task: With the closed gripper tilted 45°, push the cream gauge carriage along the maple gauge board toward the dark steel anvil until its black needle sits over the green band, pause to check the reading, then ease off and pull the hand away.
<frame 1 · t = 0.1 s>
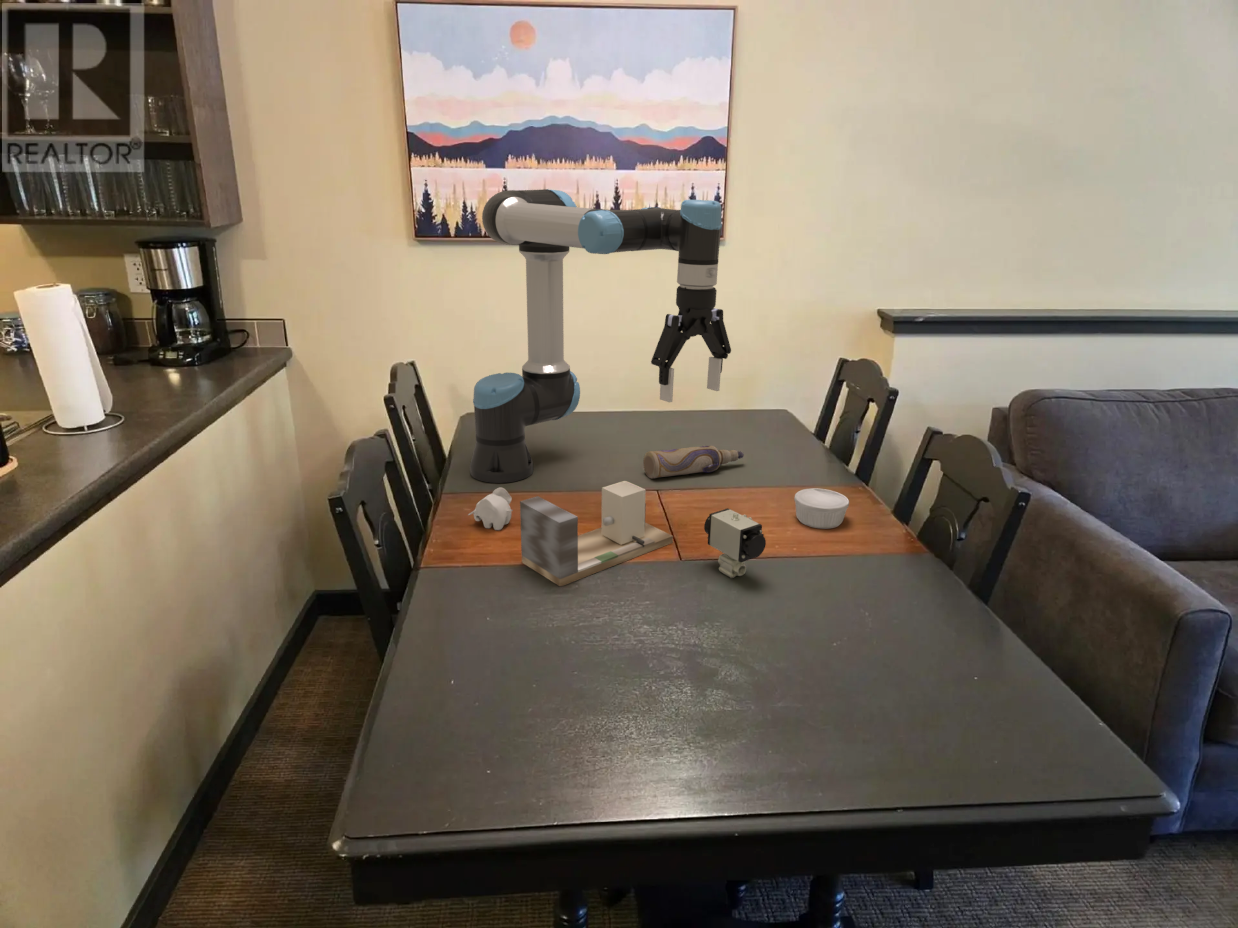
hand: (690, 395, 160), 28 cm above the table, tool pointing down, fingers open, 13 cm apart
gauge board: (599, 552, 157), on the table
pneumatic valve: (733, 573, 150), on the table
decorative bottle: (694, 474, 197), on the table
elephant figurine: (492, 525, 168), on the table
ramekin: (819, 521, 173), on the table
gauge carriage: (626, 515, 157), point 7 cm above the table, slide at 0.0 cm
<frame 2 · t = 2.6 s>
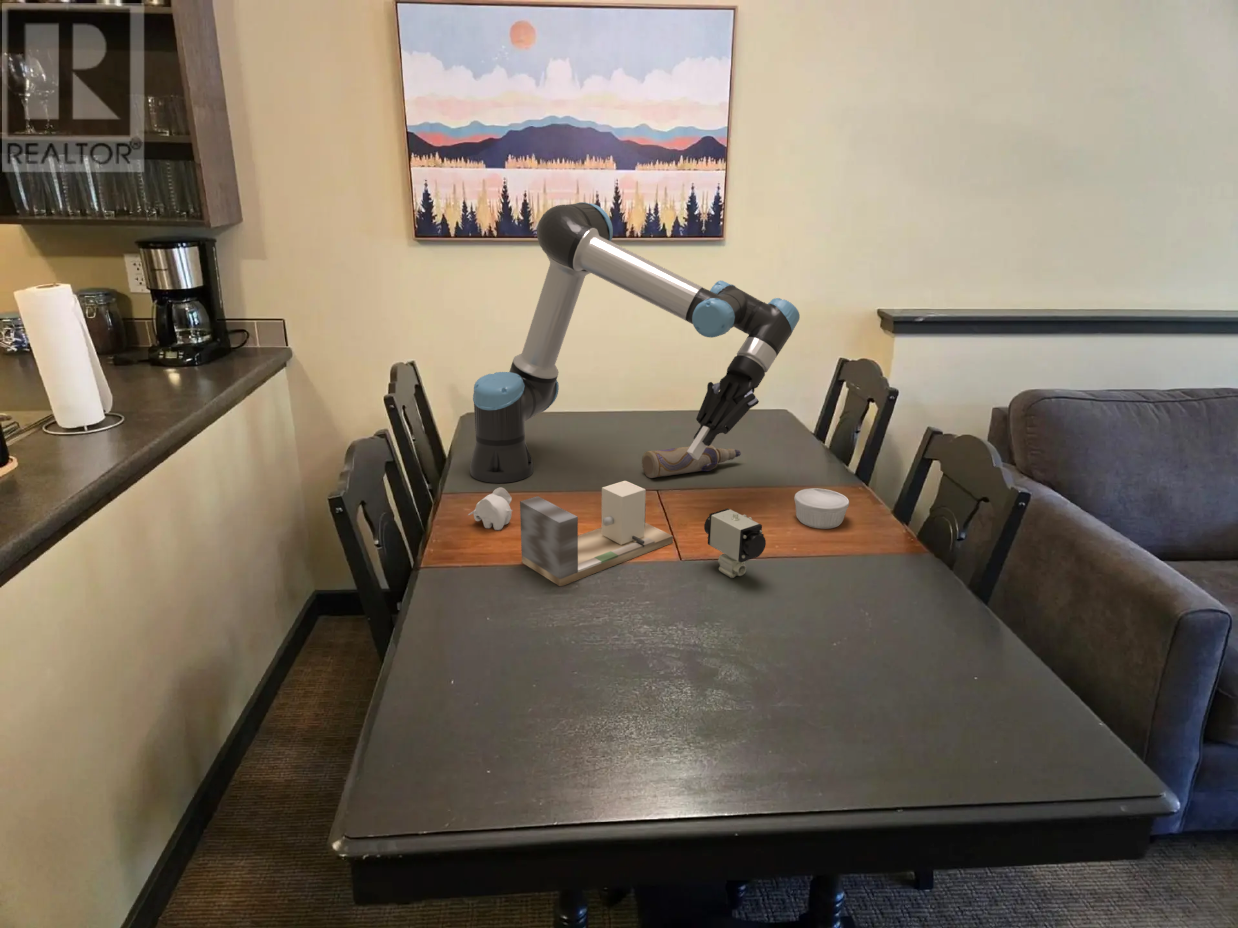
hand: (692, 455, 167), 14 cm above the table, tool tilted 45°, fingers closed
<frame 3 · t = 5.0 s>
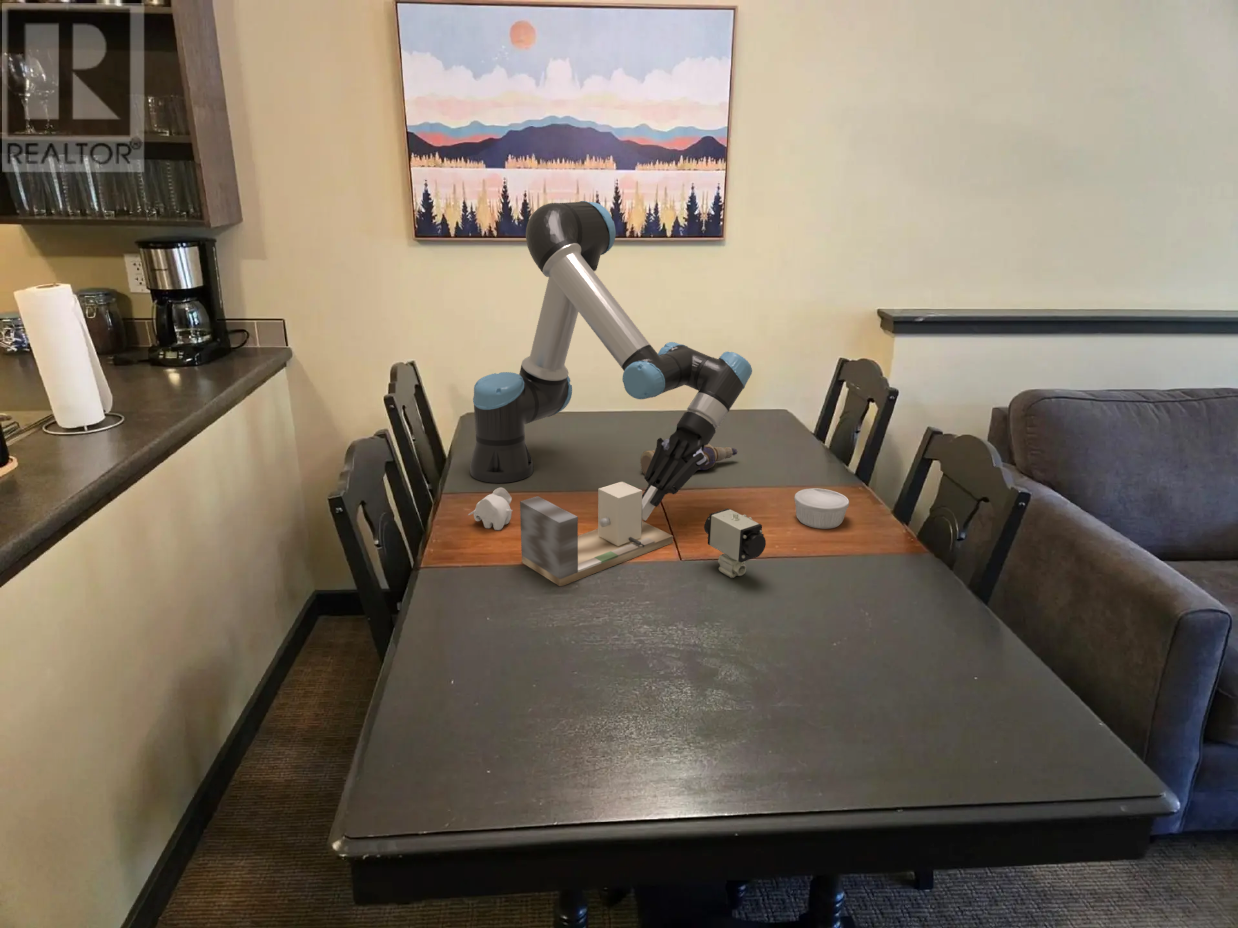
hand: (639, 516, 161), 5 cm above the table, tool tilted 45°, fingers closed
gauge carriage: (623, 516, 156), point 7 cm above the table, slide at 0.9 cm, touching gripper
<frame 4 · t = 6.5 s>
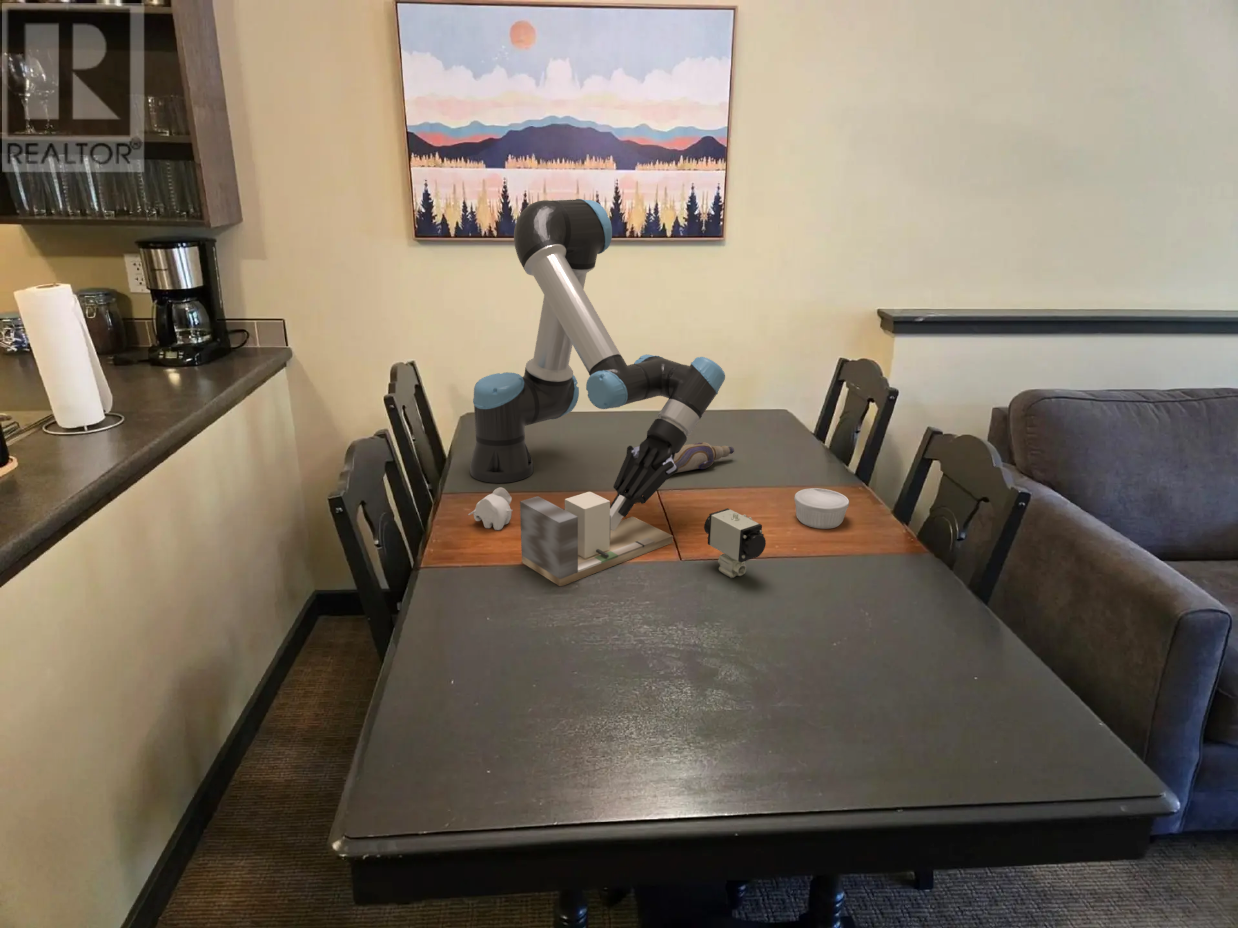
hand: (607, 526, 156), 5 cm above the table, tool tilted 45°, fingers closed
gauge carriage: (590, 527, 151), point 7 cm above the table, slide at 9.0 cm, touching gripper
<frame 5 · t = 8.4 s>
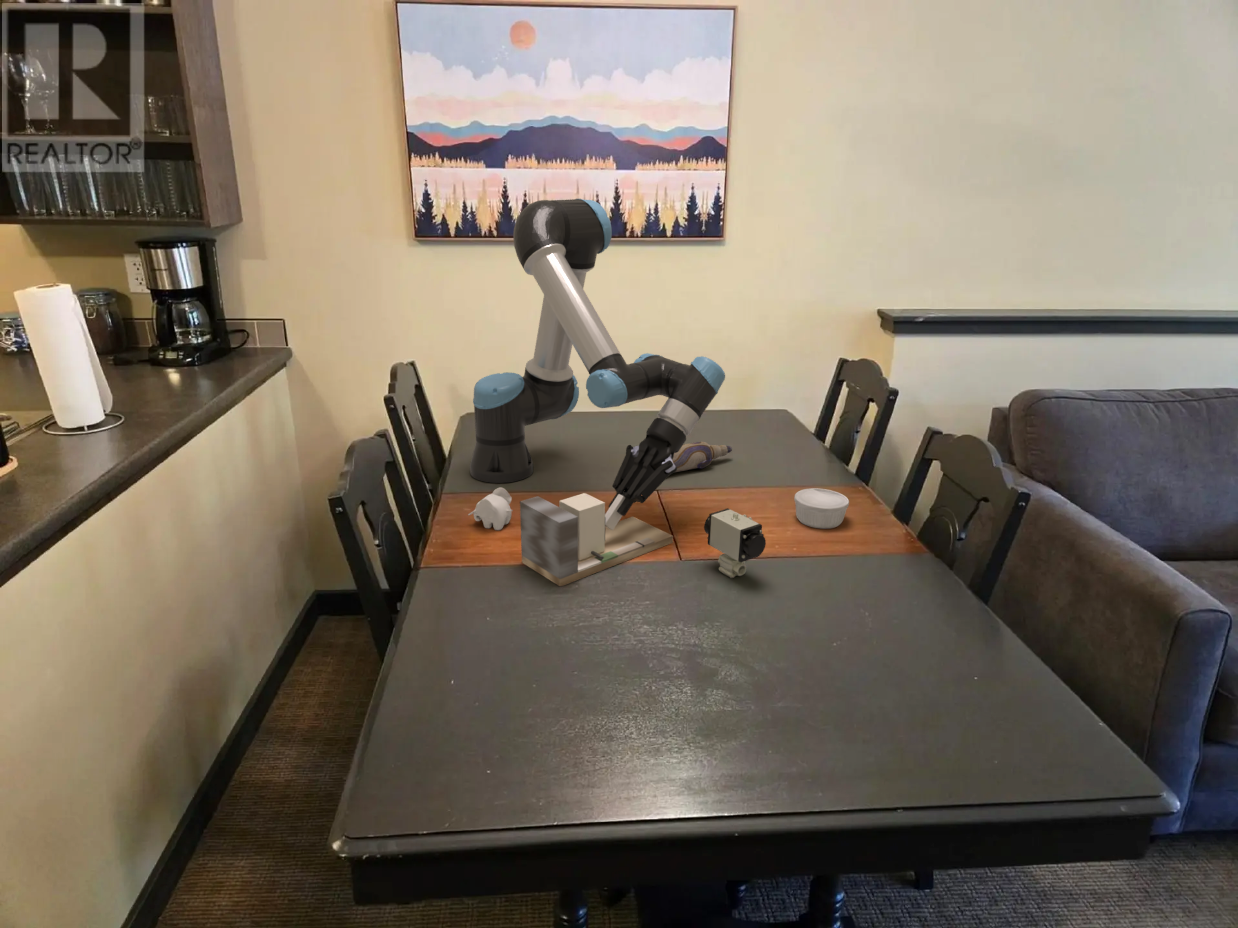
hand: (606, 526, 156), 5 cm above the table, tool tilted 45°, fingers closed
gauge carriage: (585, 529, 150), point 7 cm above the table, slide at 10.3 cm
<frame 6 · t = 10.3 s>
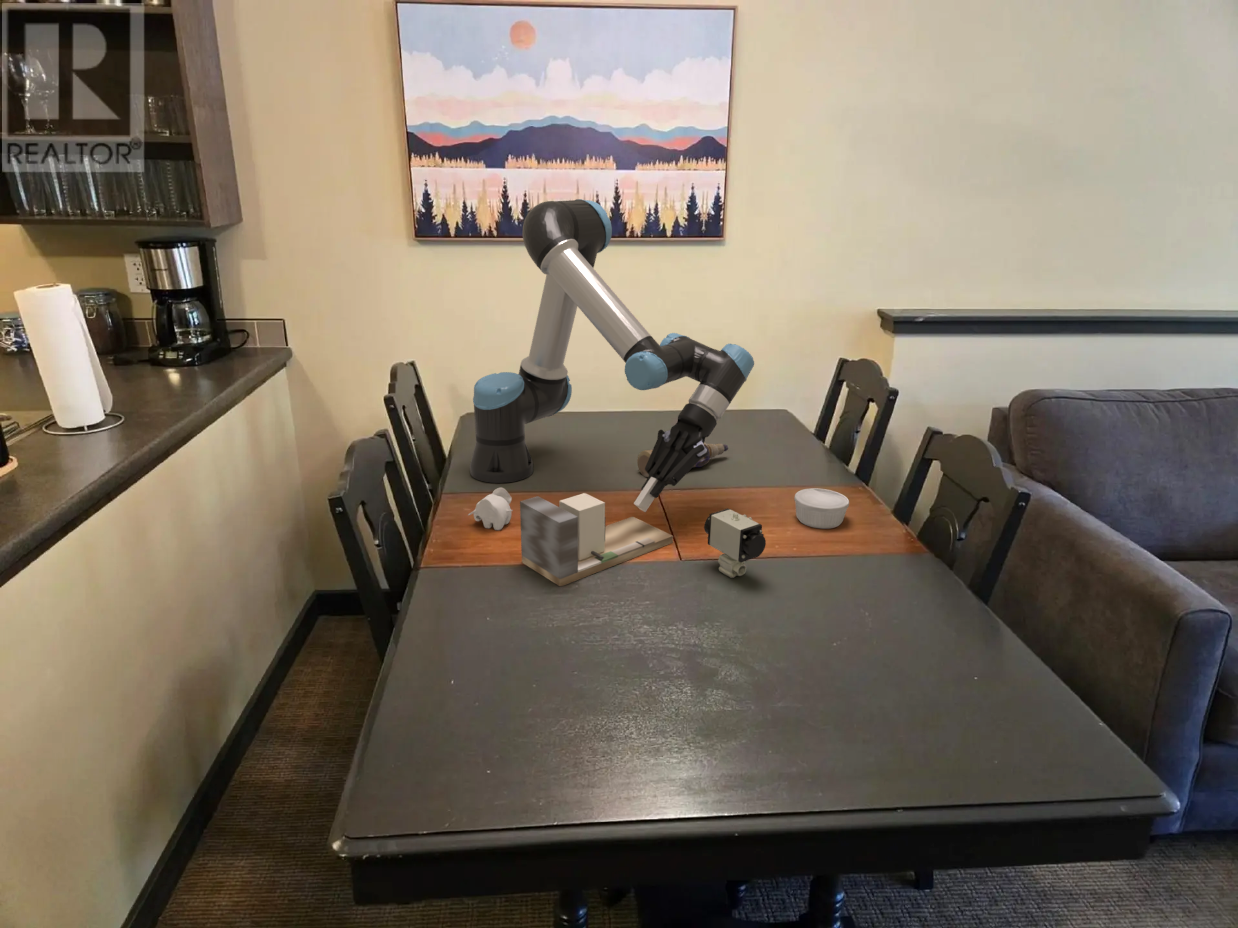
hand: (639, 507, 161), 7 cm above the table, tool tilted 45°, fingers closed
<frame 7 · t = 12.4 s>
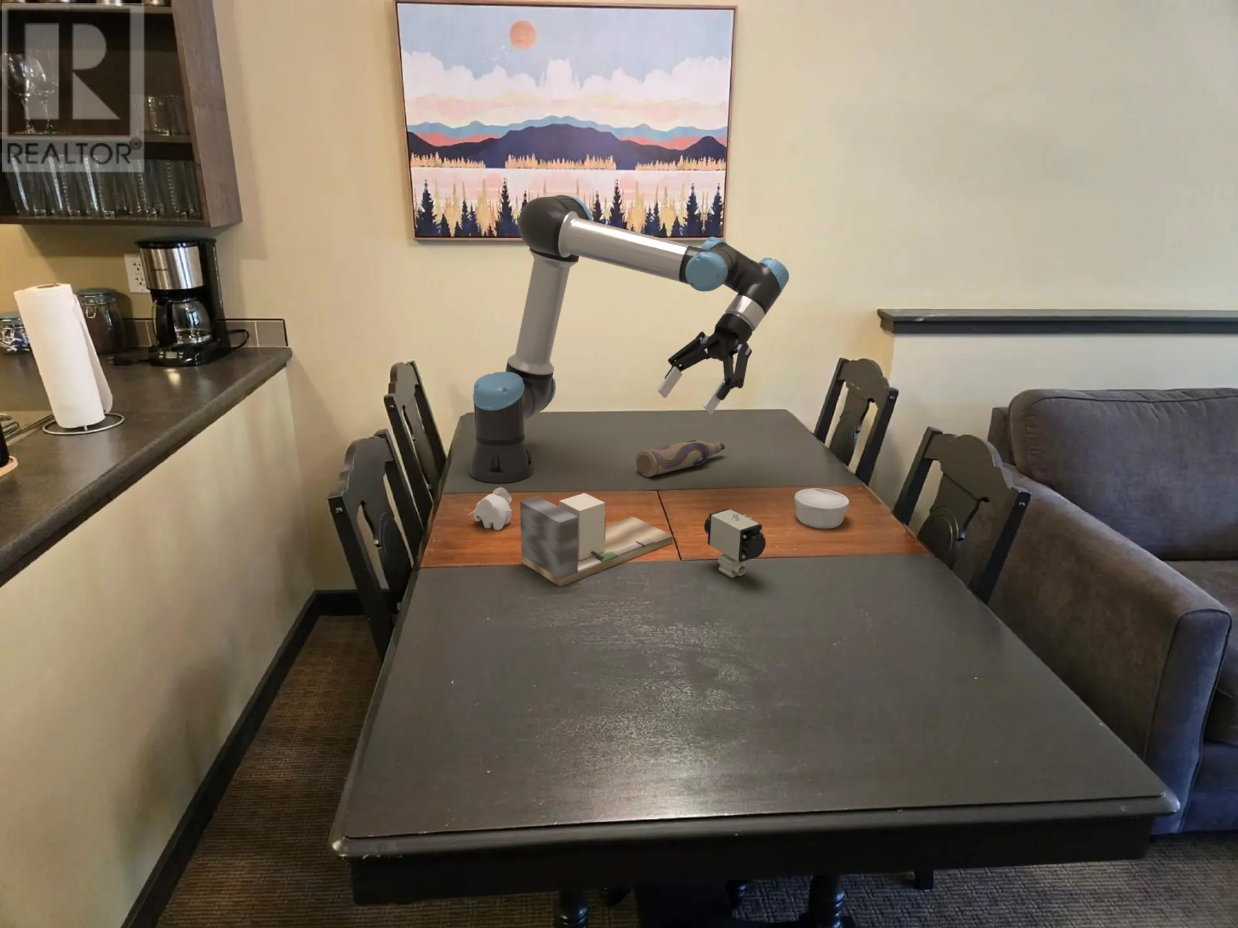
hand: (683, 402, 168), 24 cm above the table, tool tilted 45°, fingers open, 13 cm apart
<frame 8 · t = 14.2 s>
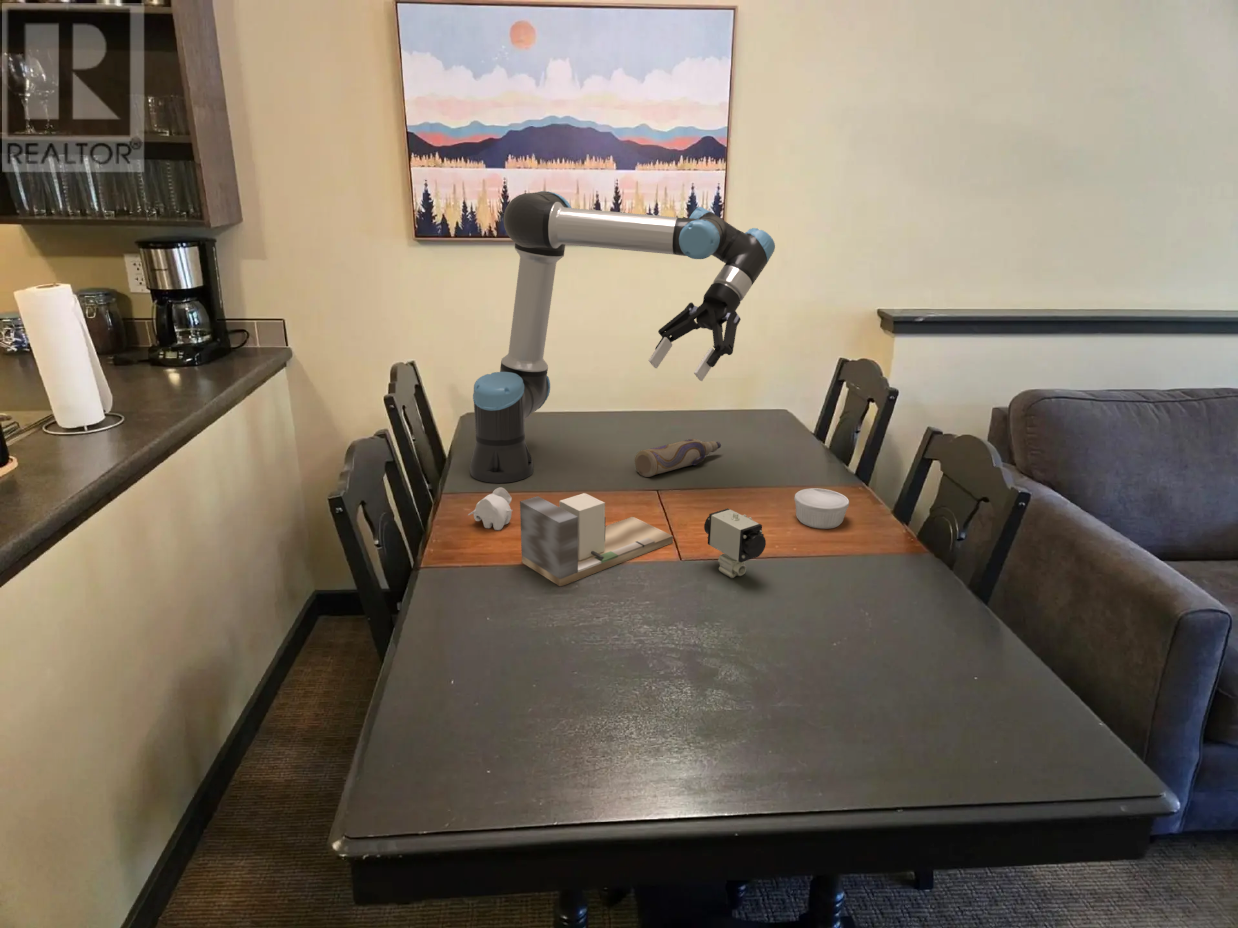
hand: (674, 370, 171), 30 cm above the table, tool tilted 45°, fingers open, 13 cm apart
at the end: gauge carriage slide at 10.3 cm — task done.
